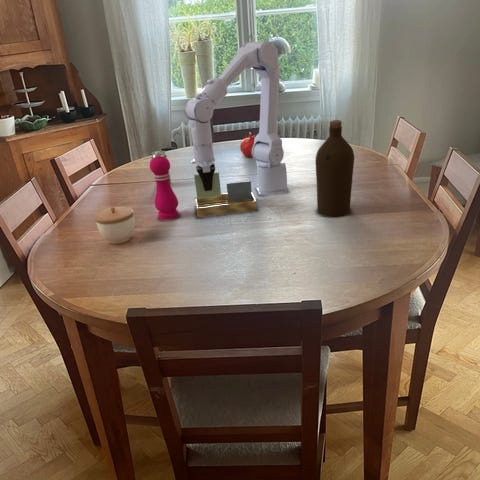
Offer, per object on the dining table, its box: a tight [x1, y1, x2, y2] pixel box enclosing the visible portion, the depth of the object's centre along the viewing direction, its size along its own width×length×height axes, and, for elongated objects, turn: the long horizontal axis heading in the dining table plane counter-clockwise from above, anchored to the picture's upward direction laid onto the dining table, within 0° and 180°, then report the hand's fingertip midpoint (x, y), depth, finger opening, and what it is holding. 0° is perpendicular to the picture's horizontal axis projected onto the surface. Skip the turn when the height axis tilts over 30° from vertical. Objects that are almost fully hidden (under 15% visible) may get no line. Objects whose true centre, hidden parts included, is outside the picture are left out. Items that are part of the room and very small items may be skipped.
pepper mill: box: [149, 150, 180, 221], centre depth 144 cm, size 7×7×20 cm
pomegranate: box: [239, 131, 256, 158], centre depth 199 cm, size 10×10×9 cm
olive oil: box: [315, 119, 355, 218], centre depth 135 cm, size 11×11×25 cm
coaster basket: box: [194, 192, 258, 218], centre depth 150 cm, size 18×11×3 cm, turn 97°
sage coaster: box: [193, 171, 222, 199], centre depth 146 cm, size 8×1×8 cm, turn 97°
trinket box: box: [93, 206, 136, 244], centre depth 135 cm, size 11×11×9 cm
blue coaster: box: [225, 180, 253, 202], centre depth 149 cm, size 8×1×8 cm, turn 97°
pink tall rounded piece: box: [150, 150, 172, 185], centre depth 173 cm, size 5×5×12 cm
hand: (208, 189), depth 147 cm, fingers closed on sage coaster, 1 cm apart
